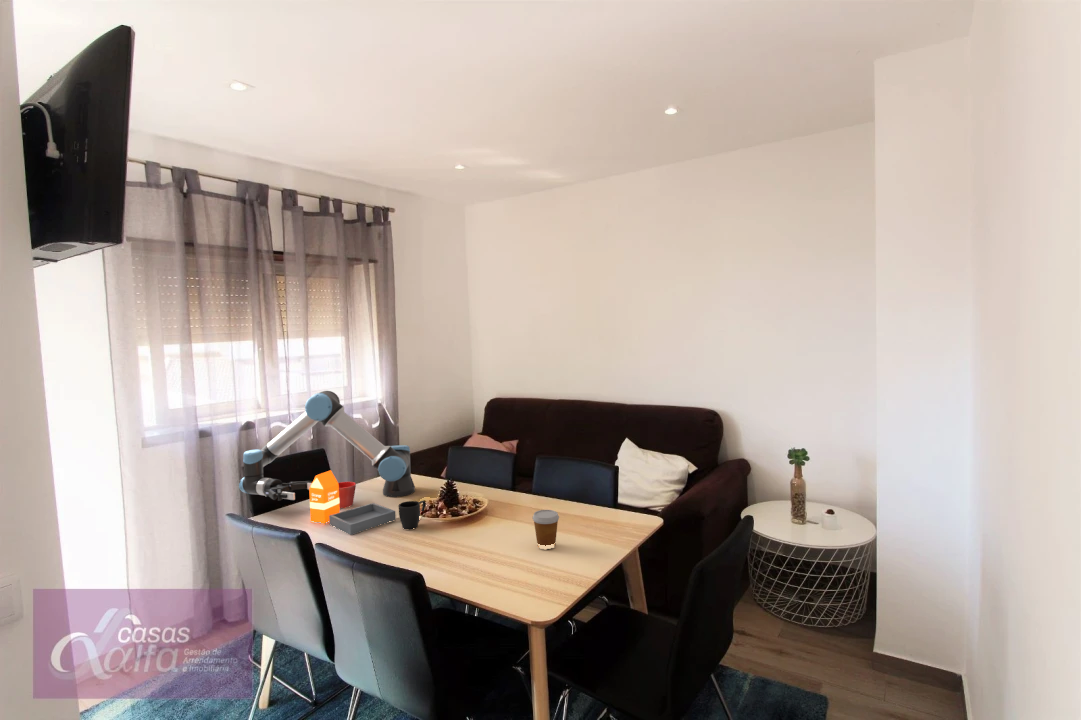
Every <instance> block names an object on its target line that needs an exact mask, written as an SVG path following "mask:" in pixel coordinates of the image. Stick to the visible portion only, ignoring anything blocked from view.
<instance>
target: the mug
mask: <svg viewBox="0 0 1081 720" xmlns="http://www.w3.org/2000/svg"><path fill="white" fill-rule="evenodd" d="M421 504H422V507H421ZM426 505H427V504H426V501H425V500H421V501H416V500H407V501H403V502H401V503H399V504H398V516H399V521H400V524H401V527H402V529H403V528H404V529H413V528H415V529H417V528H418V524H419V523H420V521H421V519H420V520H419V516H420V512H421V511H424V512H425V508H426ZM416 527H417V528H416ZM404 529H403V530H404ZM413 530H414V529H413Z"/></svg>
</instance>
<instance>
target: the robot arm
mask: <svg viewBox="0 0 1081 720" xmlns="http://www.w3.org/2000/svg"><path fill="white" fill-rule="evenodd" d="M318 422H319V423H321V424H322V426H324V427H325V428H326V427H330V428H331V429H333V430H334V431H336V433H338V434H339V435H340V436H342V438H344V439H345V440H346V441H347V442H348V443H350V444H351V445H352V446H353V447H355V448H356V449H357V450H358V451H360V453H362V454H363V455H364V456H365V457H367V458H368V459H369V460H370V461H371V466H372V467H373V468H374V469H375V470H377V471H378V474H379V476H380V477H381V478H382V479H383V480H384V483H383V488H382V495H383V496H384V497H388V496H389V497H390V498H397V496H400V497H404V496H405V497H406V496H409V495H412V494H414V493H415V492H416V488H415V487H416V486H415V483H414V481H413V478H412V474H411V473H412V472H411V470H412V469H411V449H410V446H408V445H406V444H405V445H404V444H403V445H402V444H401V445H399V444H398V445H385V444H383V443H382V442H381V441H379V440H378V439H377V438H376V437H374V436H373V434H371V433H370V432H369V431H367V430H366V429H365V428H364V427H363V426H362V425H360V424H359V423H358V422H357V421H356V420H354V419H353V418H352V416H350V415H349V414H347V413H346V412H345V407H344V405H342V404H341V400H340V398H339V396H338V395H337V394H336V393H335V392H333V391H331V390H323V391H320V392H317V393H314V394H312V395H311V396H310V397H309V398H308V399H307V400H306V402H305V405H304V412H303V413H302V414H301V415H299V416H298V417H297V418H296V419H295V420H294V421H293V422H292V423H290V424H289V425H288V426H286V428H284V429H283V430H282V431H280V433H278V434H277V435H276V436H275V437H274V438H272V439H271V440H270V441H269V442H268V443H266V444H265V445H264V446H263V447H262V448H260V449H250V450H246V451H244V452H243V455H242V457H243V458H242V461H243V462H242V463H243V475H244V476H243V477H242V478H241V479H240V480H239V481H240V482H239V484H238V488H239V490H240V491H241V492H242V493H244V494H249V495H259V496H265V497H266V498H267V497H269V498H270V499H271V500H273V501H276V500H277V501H282V500H283V499H284V500H290V501H296V493H295V492H293V491H297V490H305V489H307V490H309V488H310V486H311V484H312V482H313V481H312V480H305V481H304V480H303V481H301V480H300V481H289V482H287V483H286V482H283V481H282V480H281V479H280V478H279V479H277V478H271V477H264V467H265V466H267V465H268V464H271V463H272V462H273V461H275V460H276V459H277V457H279V456H280V455H281V454H282V453H283V452H284V451H286V450H287V449H288V448H289V447H291V445H293V444H294V443H295V442H296V441H297V440H298V439H300V438H301V437H302V436H303V435H305V434H306V433H307V432H308V431H309V430H310V429H312V428H313V427H314V426H315V425H317V424H318ZM413 492H414V493H413Z"/></svg>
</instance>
